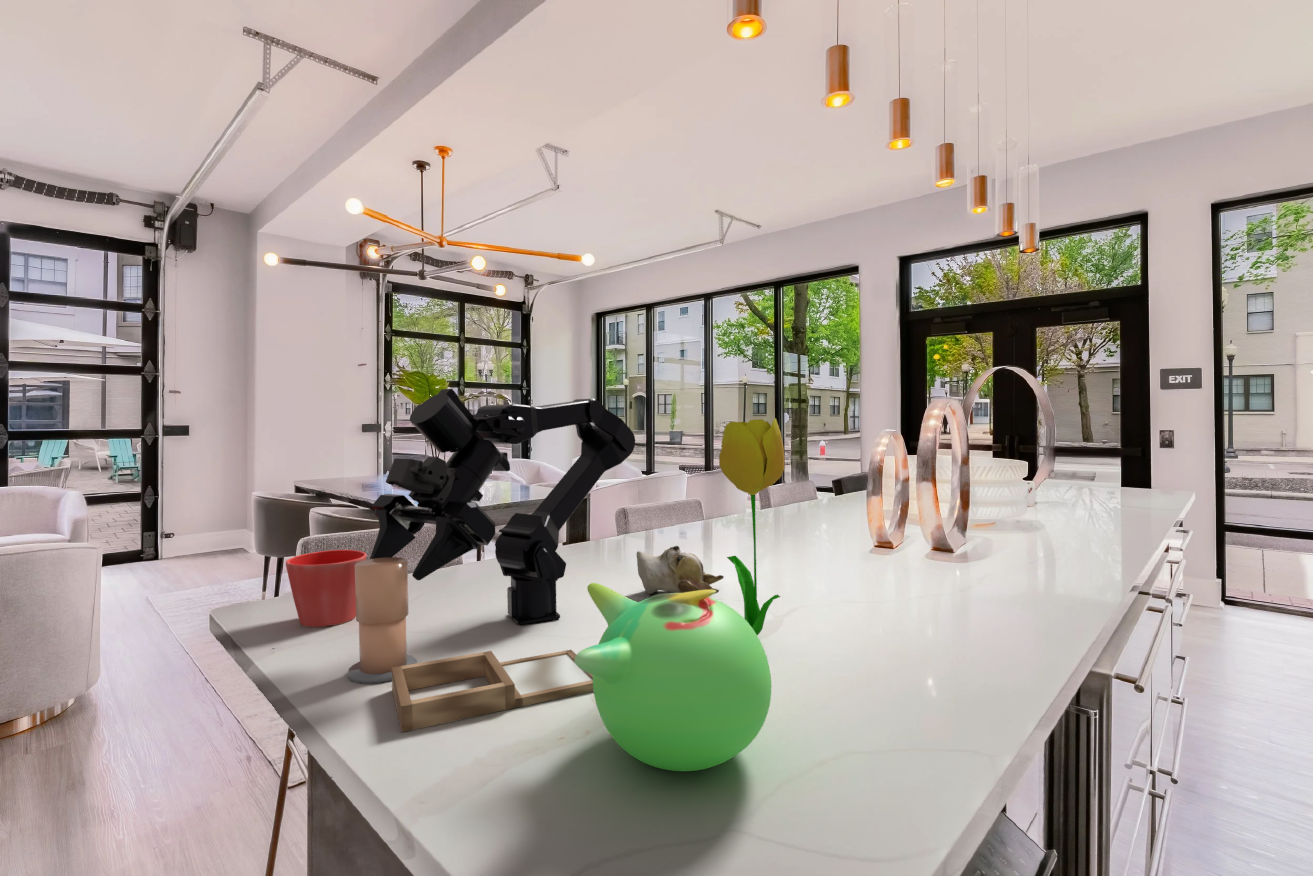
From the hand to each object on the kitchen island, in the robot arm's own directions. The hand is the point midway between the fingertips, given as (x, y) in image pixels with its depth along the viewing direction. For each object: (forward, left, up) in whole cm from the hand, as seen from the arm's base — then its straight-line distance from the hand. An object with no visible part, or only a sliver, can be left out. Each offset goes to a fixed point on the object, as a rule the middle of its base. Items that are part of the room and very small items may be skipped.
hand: (392, 573), depth 77 cm
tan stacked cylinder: (+1, +1, -11) cm, 11 cm away
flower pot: (+7, -25, -12) cm, 29 cm away
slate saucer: (+1, +1, -11) cm, 12 cm away
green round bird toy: (-21, +34, -12) cm, 41 cm away
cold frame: (-10, +13, -11) cm, 20 cm away
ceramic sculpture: (-47, -12, -12) cm, 50 cm away
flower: (-44, +14, -12) cm, 47 cm away
